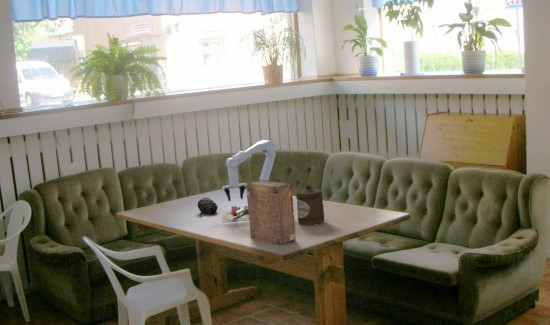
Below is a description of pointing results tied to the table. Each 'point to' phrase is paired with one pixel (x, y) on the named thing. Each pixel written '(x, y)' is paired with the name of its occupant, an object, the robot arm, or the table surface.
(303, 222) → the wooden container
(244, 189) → the robot arm
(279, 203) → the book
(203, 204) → the pine cone
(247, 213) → the base
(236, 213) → the lever
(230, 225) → the table surface
